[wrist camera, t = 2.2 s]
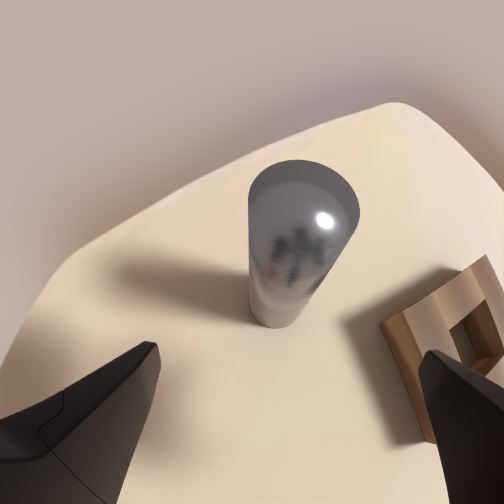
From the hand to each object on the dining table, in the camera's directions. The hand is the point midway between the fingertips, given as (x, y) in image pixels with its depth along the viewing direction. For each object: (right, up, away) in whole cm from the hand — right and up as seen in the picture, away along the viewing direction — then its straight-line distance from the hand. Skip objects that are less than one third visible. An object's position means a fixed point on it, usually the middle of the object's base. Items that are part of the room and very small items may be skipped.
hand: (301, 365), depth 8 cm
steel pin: (0, 0, +13) cm, 13 cm away
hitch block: (+17, -5, +11) cm, 20 cm away
